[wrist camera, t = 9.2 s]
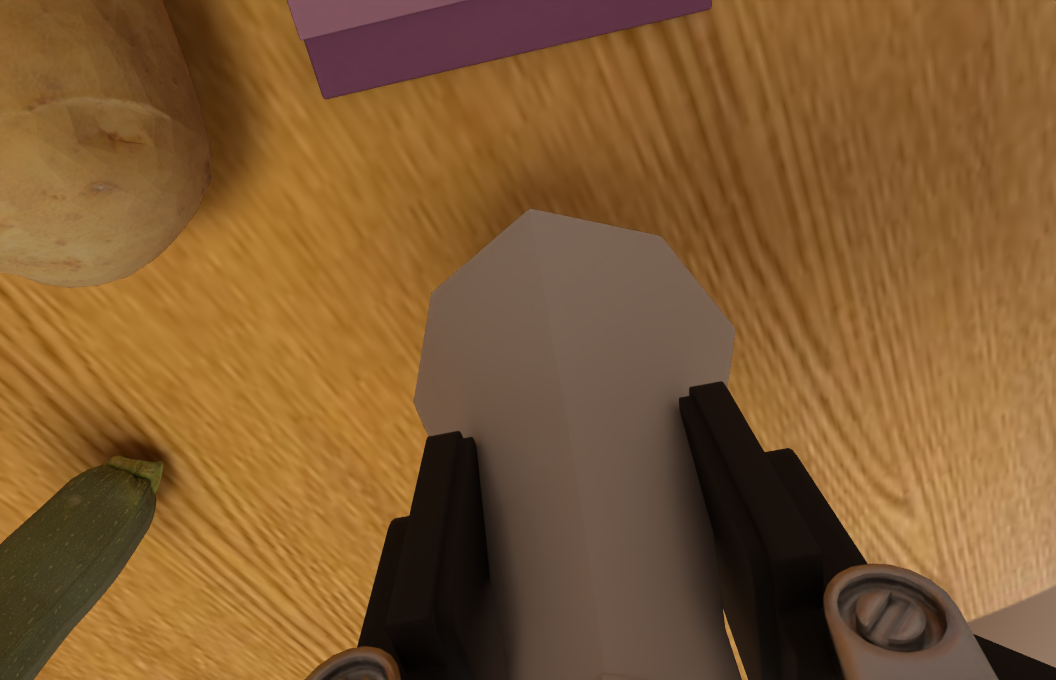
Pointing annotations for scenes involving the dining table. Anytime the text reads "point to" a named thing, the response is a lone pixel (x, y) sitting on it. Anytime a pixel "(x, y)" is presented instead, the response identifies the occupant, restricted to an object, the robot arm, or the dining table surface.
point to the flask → (585, 446)
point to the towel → (451, 33)
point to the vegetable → (70, 558)
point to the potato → (94, 139)
